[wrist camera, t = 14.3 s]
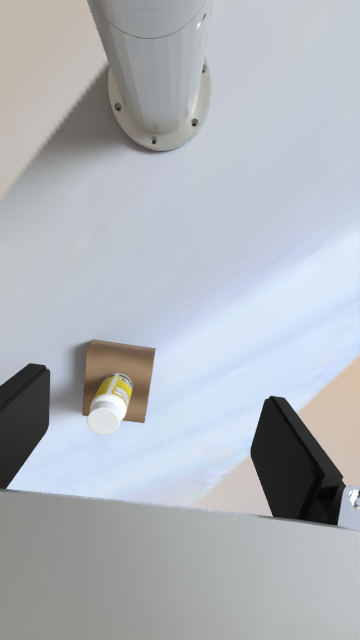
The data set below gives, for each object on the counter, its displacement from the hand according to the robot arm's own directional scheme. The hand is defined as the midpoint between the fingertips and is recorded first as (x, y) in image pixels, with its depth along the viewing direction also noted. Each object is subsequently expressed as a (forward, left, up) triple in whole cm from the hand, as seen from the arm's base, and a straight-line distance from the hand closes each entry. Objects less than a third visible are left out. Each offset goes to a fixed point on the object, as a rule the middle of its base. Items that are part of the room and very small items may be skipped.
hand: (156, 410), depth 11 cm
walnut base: (+15, -6, -28) cm, 33 cm away
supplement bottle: (+15, -6, -26) cm, 30 cm away
